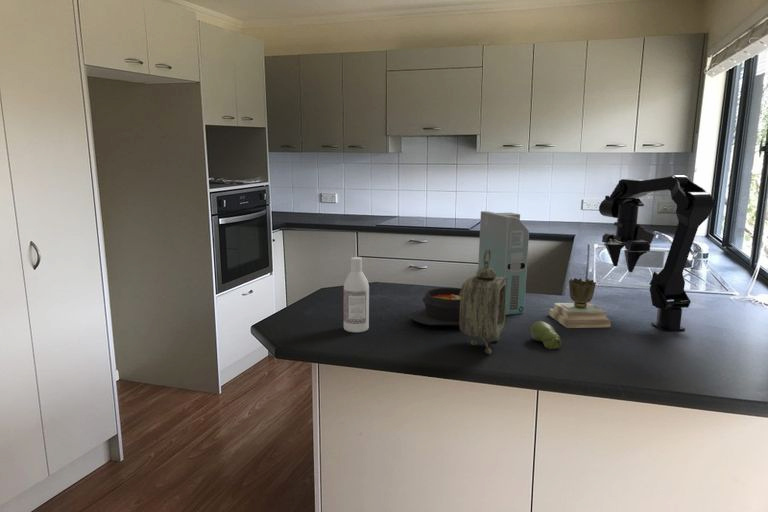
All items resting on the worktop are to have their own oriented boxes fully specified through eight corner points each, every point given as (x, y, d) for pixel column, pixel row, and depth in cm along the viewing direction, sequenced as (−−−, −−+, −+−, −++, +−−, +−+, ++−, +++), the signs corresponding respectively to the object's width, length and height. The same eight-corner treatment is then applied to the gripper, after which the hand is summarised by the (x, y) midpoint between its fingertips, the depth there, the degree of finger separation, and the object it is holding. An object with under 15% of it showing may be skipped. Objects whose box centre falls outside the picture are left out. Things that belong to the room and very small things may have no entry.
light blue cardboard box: (524, 313, 176) (530, 216, 170) (502, 315, 173) (507, 216, 168) (496, 300, 191) (501, 210, 185) (476, 301, 188) (480, 211, 183)
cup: (564, 308, 166) (566, 281, 164) (569, 302, 172) (571, 276, 171) (591, 312, 162) (593, 284, 161) (595, 306, 169) (597, 279, 167)
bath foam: (350, 324, 162) (351, 254, 158) (372, 327, 159) (373, 257, 156) (339, 330, 156) (339, 258, 152) (361, 334, 153) (362, 261, 149)
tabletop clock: (493, 358, 137) (499, 255, 132) (457, 352, 140) (460, 252, 136) (504, 340, 150) (509, 246, 146) (470, 335, 153) (474, 243, 149)
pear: (546, 317, 152) (568, 334, 143) (542, 335, 154) (565, 353, 145) (528, 318, 150) (550, 336, 141) (525, 336, 152) (546, 355, 143)
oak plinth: (610, 327, 163) (611, 312, 162) (566, 327, 161) (567, 313, 160) (589, 314, 175) (590, 301, 175) (548, 314, 174) (549, 301, 173)
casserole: (466, 308, 180) (467, 282, 179) (505, 324, 164) (506, 296, 162) (397, 318, 169) (398, 290, 167) (431, 336, 152) (432, 306, 151)
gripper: (669, 223, 169) (664, 275, 171) (635, 216, 187) (631, 263, 190) (633, 223, 167) (629, 275, 170) (603, 216, 186) (599, 263, 188)
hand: (622, 269), depth 180 cm, fingers open, 9 cm apart
